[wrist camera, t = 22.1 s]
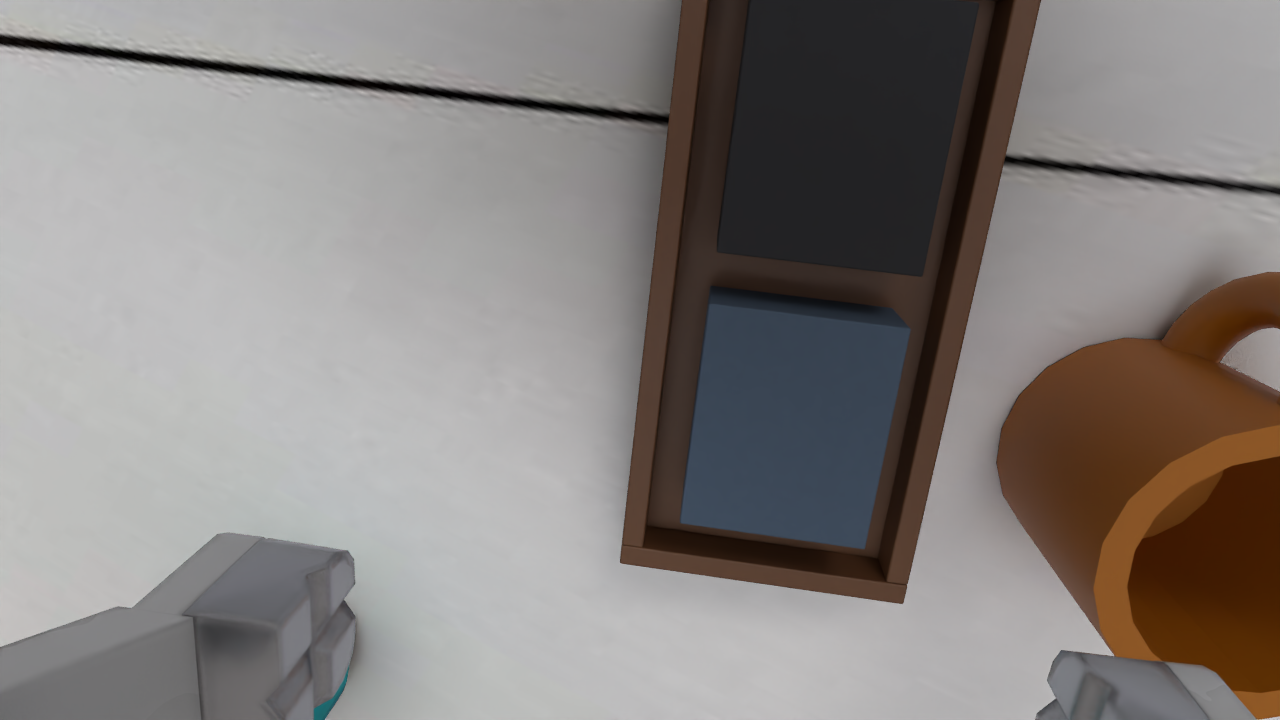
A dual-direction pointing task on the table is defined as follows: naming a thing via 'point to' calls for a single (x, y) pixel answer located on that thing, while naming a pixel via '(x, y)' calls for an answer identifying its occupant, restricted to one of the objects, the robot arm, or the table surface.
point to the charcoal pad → (843, 130)
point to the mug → (1163, 490)
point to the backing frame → (921, 302)
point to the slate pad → (792, 415)
